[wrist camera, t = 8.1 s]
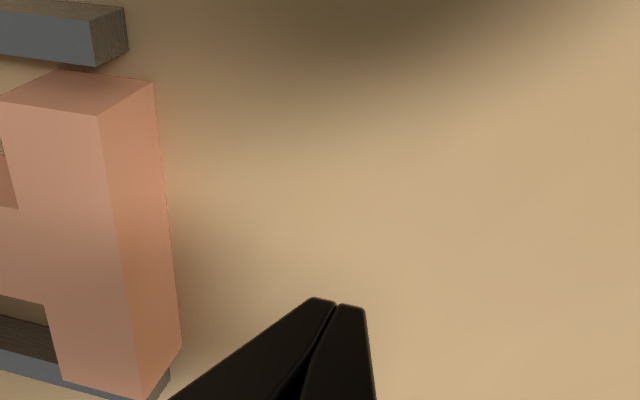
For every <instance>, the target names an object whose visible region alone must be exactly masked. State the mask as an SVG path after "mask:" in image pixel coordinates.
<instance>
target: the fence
mask: <svg viewBox="0 0 640 400" xmlns="http://www.w3.org/2000/svg"><path fill="white" fill-rule="evenodd" d="M127 51H129V48H128V40H127V32H126V25H125V17H124V9H123V8H121V7H112V6H103V5H94V4H86V3H77V2H68V1H59V0H0V54H4V55H12V56H19V57H26V58H33V59H40V60H48V61H55V62H62V63H69V64H76V65H84V66H91V67H97V66H99V65H101V64H103V63H105V62H107V61H109V60H111V59H113V58H115V57H117V56H119V55H121V54H123V53H125V52H127ZM0 369H1V370H5V371H8V372H12V373H16V374H19V375H23V376H26V377H30V378H34V379H37V380H41V381H44V382H48V383H52V384H55V385H59V386H62V387H66V388H70V389H73V390H77V391H80V392H84V393H88V394H91V395H95V396H98V397H102V398H106V399H109V400H134V399H130V398H127V397H123V396H119V395H116V394H112V393H108V392H105V391H101V390H97V389H93V388H90V387H86V386H82V385H79V384H75V383H71V382H68V381H64V380H63V379H62V376H61V372H60V368H59V364H58V360H57V356H56V352H55V348H54V344H53V340H52V336H51V333H50V329H49V327H45V326H41V325H37V324H33V323H30V322H26V321H22V320H18V319H14V318H10V317H6V316H2V315H0ZM169 381H170V373H169V367H168V368H167V370H166V371H165V373H164V374H163V376H162V377H161V379H160V380H159V381H158V383H157V384H156V386H155V387H154V389H153V390H152V392H151V393H150V394H149V396H148V397H147V399H146V400H157V399H158V397H159V396H160V394H161V393H162V391H163V390H164V388H165V387H166V385H167V384H168V382H169Z"/></svg>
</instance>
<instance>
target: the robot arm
mask: <svg viewBox="0 0 640 400" xmlns="http://www.w3.org/2000/svg"><path fill="white" fill-rule="evenodd" d="M168 400H377V398H376V390H375V383H374V375H373V367H372V360H371V352H370V344H369V337H368V329H367V321H366V314H365V310H364V309H363V308H361V307H357V306H353V305H348V304H344V303H341V304H339V305H338V306H337V304H336V303H335V302H334V301H330V300H326V299H321V298H317V297H312V298H309V299H307V300H306V301H305V302H303V303H302V304H300V305H299V306H298V307H296V308H295V309H293V310H292V311H291V312H289V313H288V314H286V315H285V316H284V317H282V318H281V319H279V320H278V321H277V322H275V323H274V324H273V325H271V326H270V327H268V328H267V329H266V330H264V331H263V332H261V333H260V334H259V335H257V336H256V337H254V338H253V339H252V340H250V341H249V342H247V343H246V344H245V345H243V346H242V347H240V348H239V349H238V350H236V351H235V352H233V353H232V354H231V355H229V356H228V357H226V358H225V359H224V360H222V361H221V362H219V363H218V364H217V365H215V366H214V367H212V368H211V369H210V370H208V371H207V372H206V373H204V374H203V375H201V376H200V377H199V378H197V379H196V380H194V381H193V382H192V383H190V384H189V385H187V386H186V387H185V388H183V389H182V390H180V391H179V392H178V393H176V394H175V395H173V396H172V397H171V398H169V399H168Z"/></svg>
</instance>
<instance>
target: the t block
mask: <svg viewBox="0 0 640 400" xmlns="http://www.w3.org/2000/svg"><path fill="white" fill-rule="evenodd" d="M0 137H1V141H2V145H3V149H4V153H5V156H4V155H0V295H4V296H8V297H12V298H16V299H21V300H25V301H29V302H33V303H37V304H41V305H44V309H45V313H46V317H47V321H48V325H49V329H50V333H51V336H52V340H53V344H54V348H55V352H56V356H57V360H58V364H59V368H60V372H61V376H62V379H63V380H64V381H68V382H71V383H75V384H79V385H82V386H86V387H90V388H93V389H97V390H101V391H105V392H108V393H112V394H116V395H119V396H123V397H127V398H130V399H134V400H146V399H147V397H148V396H149V394H150V393H151V392H152V390H153V389H154V387H155V386H156V384H157V383H158V381H159V380H160V379H161V377H162V376H163V374H164V373H165V371H166V370H167V368H168V367H169V366H170V364H171V363H172V361H173V360H174V358H175V357H176V355H177V354H178V353H179V351H180V350H181V348H182V347H183V345H182V336H181V328H180V319H179V310H178V301H177V292H176V283H175V275H174V266H173V257H172V248H171V239H170V230H169V222H168V213H167V204H166V195H165V186H164V177H163V169H162V160H161V151H160V142H159V133H158V124H157V116H156V107H155V98H154V89H153V82H151V81H143V80H136V79H129V78H121V77H114V76H107V75H99V74H92V73H85V72H77V71H70V70H63V69H57V70H54V71H52V72H50V73H48V74H46V75H44V76H41V77H39V78H37V79H35V80H33V81H31V82H28V83H26V84H24V85H22V86H20V87H18V88H15V89H13V90H11V91H9V92H7V93H5V94H2V95H0Z"/></svg>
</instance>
